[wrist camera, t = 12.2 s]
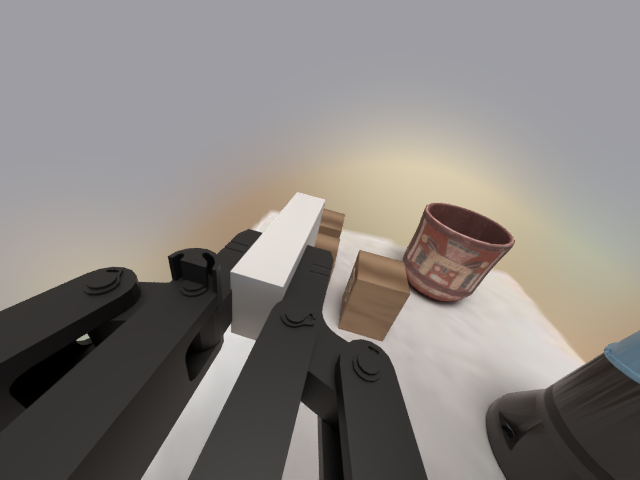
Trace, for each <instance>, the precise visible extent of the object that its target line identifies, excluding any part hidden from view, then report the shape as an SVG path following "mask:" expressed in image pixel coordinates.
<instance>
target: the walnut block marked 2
mask: <svg viewBox="0 0 640 480" xmlns="http://www.w3.org/2000/svg"><path fill="white" fill-rule="evenodd" d="M409 295H410V290H409V285H408V281H407V276H406V271H405V266H404V262H401V261H398V260H394V259H390V258H387V257H383V256H380V255H376V254H372V253H369V252H365V251H362V250H360V251H359V253H358V256H357V259H356V262H355V264H354V267H353V270H352V273H351V275H350V278H349V281H348V283H347V286H346V289H345V292H344V294H343V298H342V306H341V313H340V320H339V327H338V328H339V329H342V330H346V331H349V332H352V333H356V334H359V335H362V336H366V337H369V338H373V339H376V340H379V341H383V339H384V338H385V336H386V334H387V333H388V331H389V329H390V328H391V326H392V324H393V322H394V321H395V319H396V317H397V316H398V314H399V312H400V311H401V309H402V307H403V306H404V304H405V302H406V300H407V299H408V297H409Z"/></svg>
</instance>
